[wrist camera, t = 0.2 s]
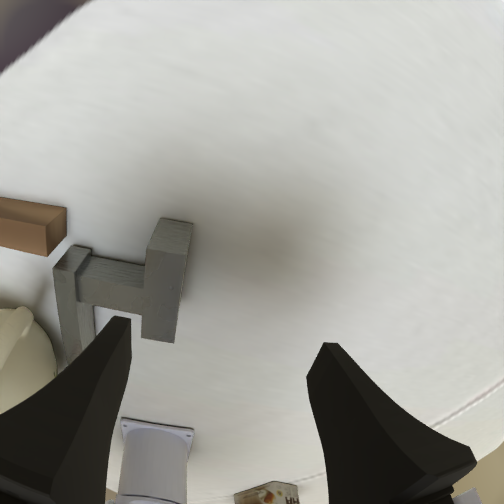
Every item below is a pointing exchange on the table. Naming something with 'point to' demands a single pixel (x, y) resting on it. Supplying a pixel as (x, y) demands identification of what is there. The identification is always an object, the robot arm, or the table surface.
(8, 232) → the walnut holder
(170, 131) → the table surface
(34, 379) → the pitcher
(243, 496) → the coffee box
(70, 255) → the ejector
